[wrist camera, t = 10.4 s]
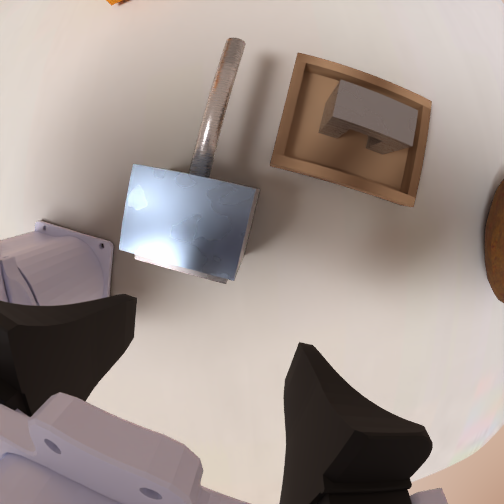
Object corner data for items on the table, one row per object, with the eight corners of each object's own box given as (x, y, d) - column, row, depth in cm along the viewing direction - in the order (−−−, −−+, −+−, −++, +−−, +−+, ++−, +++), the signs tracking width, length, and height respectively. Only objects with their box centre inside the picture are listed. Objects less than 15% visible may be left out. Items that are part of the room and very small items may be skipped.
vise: (154, 243, 22) (117, 262, 16) (198, 61, 19) (176, 25, 13) (241, 266, 22) (230, 294, 16) (288, 75, 19) (293, 39, 13)
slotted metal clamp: (318, 132, 19) (332, 116, 14) (325, 102, 18) (340, 79, 14) (382, 154, 19) (412, 146, 14) (388, 125, 18) (418, 110, 13)
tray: (270, 166, 20) (270, 163, 18) (295, 64, 18) (297, 52, 16) (401, 205, 20) (413, 207, 18) (419, 107, 18) (431, 101, 16)
